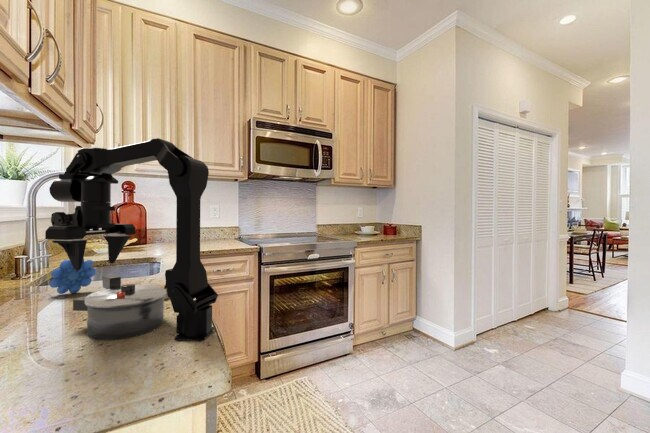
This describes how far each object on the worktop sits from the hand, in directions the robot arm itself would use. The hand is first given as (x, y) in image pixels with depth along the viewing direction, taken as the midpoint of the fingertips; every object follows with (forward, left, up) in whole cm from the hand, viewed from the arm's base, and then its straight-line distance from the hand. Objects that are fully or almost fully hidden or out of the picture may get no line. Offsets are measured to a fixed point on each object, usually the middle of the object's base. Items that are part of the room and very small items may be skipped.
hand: (95, 266), depth 71 cm
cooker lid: (-7, 0, -7) cm, 10 cm away
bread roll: (-2, -23, -14) cm, 28 cm away
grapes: (+28, -25, -14) cm, 40 cm away
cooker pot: (-7, +1, -14) cm, 15 cm away
